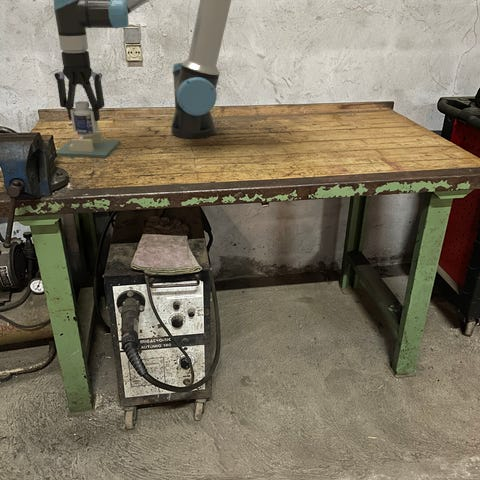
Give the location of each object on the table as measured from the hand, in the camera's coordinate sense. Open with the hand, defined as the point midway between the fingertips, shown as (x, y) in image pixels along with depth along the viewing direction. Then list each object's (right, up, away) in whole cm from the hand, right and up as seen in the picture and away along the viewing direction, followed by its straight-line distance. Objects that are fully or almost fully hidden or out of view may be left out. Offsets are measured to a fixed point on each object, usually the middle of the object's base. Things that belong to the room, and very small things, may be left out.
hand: (86, 130), depth 153 cm
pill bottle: (0, -1, +1) cm, 1 cm away
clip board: (0, -5, +3) cm, 6 cm away
